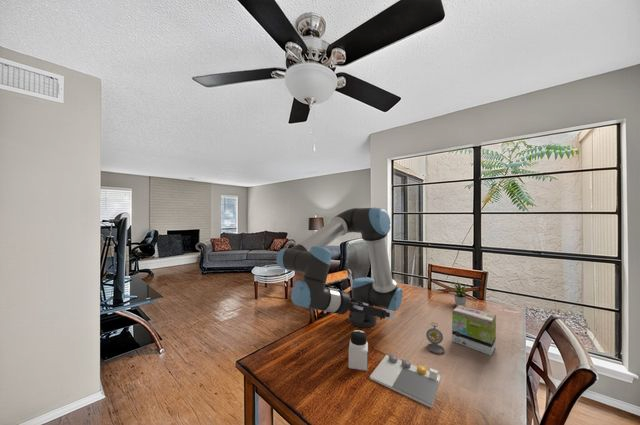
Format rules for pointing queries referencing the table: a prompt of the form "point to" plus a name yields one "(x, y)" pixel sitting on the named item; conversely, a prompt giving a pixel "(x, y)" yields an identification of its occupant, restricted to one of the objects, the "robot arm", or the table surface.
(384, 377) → the board
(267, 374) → the table surface
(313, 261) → the robot arm
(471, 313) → the tea box
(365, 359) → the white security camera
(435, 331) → the pocket watch
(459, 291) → the house plant
